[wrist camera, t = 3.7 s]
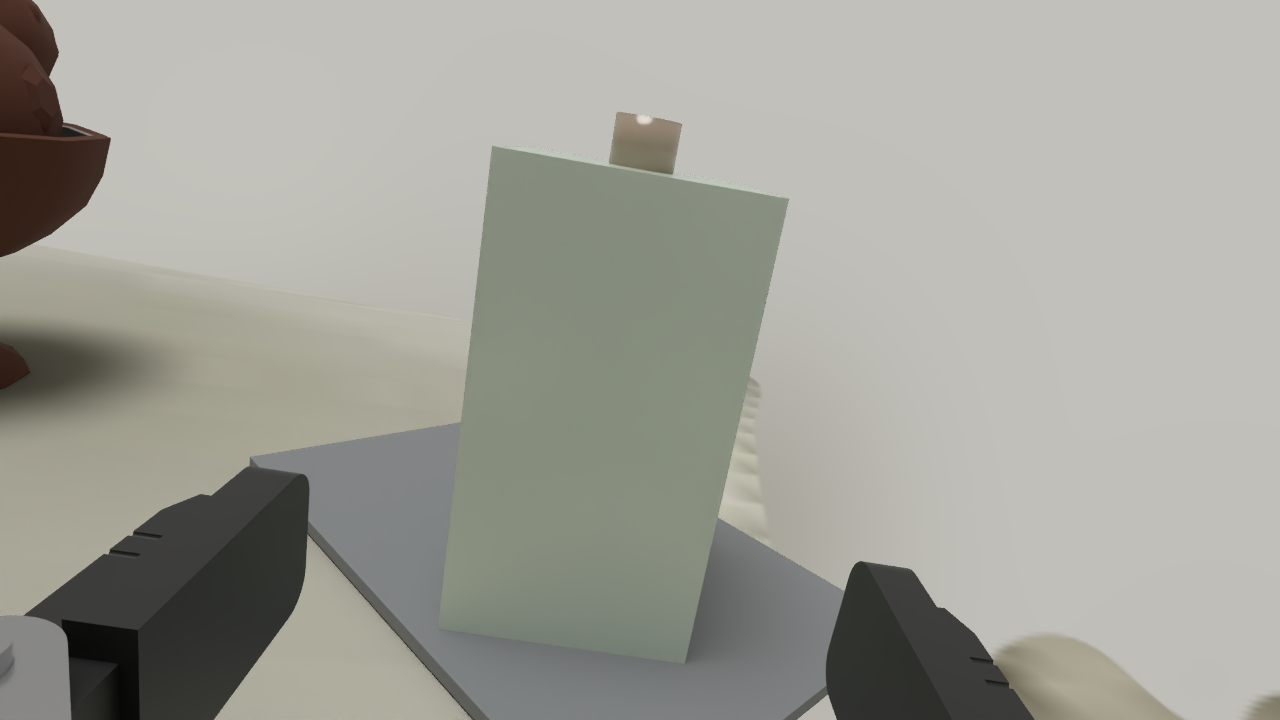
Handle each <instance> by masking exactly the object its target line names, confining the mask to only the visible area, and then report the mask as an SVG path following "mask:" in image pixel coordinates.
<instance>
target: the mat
mask: <svg viewBox="0 0 1280 720" xmlns="http://www.w3.org/2000/svg"><path fill="white" fill-rule="evenodd" d="M460 427H461V423H455V424H448V425H442V426H436V427H430V428H424V429H418V430H412V431H406V432H400V433H394V434H388V435H382V436H375V437H369V438H363V439H357V440H351V441H345V442H339V443H333V444H327V445H321V446H315V447H309V448H302V449H296V450H290V451H284V452H278V453H272V454H266V455H260V456H254V457H250V466H254V467H261V468H267V469H274V470H280V471H287V472H293V473H300V474H304V475H306V477H307V478H308V481H309V488H310V495H309V513H308V532H307V533H308V534H309V535H310V536H311V537H312V538H313V539H314V541H315V542H316V543H317V544H318V545H319V546H320V547H321V548H322V550H323V551H324V552H325V553H326V554H327V555H328V556H329V557H330V559H331V560H332V561H333V562H334V563H335V564H336V565H337V566H338V568H339V569H340V570H341V571H342V572H343V573H344V574H345V575H346V577H347V578H348V579H349V580H350V581H351V582H352V583H353V584H354V585H355V587H356V588H357V589H358V590H359V591H360V592H361V593H362V594H363V596H364V597H365V598H366V599H367V600H368V601H369V602H370V603H371V605H372V606H373V607H374V608H375V609H376V610H377V611H378V612H379V614H380V615H381V616H382V617H383V618H384V619H385V620H386V621H387V623H388V624H389V625H390V626H391V627H392V628H393V629H394V630H395V632H396V633H397V634H398V635H399V636H400V637H401V638H402V639H403V641H404V642H405V643H406V644H407V645H408V646H409V647H410V648H411V649H412V651H413V652H414V653H415V654H416V655H417V656H418V657H419V658H420V660H421V661H422V662H423V663H424V664H425V665H426V666H427V667H428V669H429V670H430V671H431V672H432V673H433V674H434V675H435V676H436V678H437V679H438V680H439V681H440V682H441V683H442V684H443V685H444V687H445V688H446V689H447V690H448V691H449V692H450V693H451V694H452V696H453V697H454V698H455V699H456V700H457V701H458V702H459V703H460V705H461V706H462V707H463V708H464V709H465V710H466V711H467V712H468V713H469V715H470V716H471V717H472V718H473V719H474V720H797V719H798V718H799V717H800V716H802V715H803V714H804V713H805V712H806V711H808V710H809V709H810V708H812V707H813V706H814V705H815V704H816V703H818V702H819V701H820V700H821V699H823V698H824V697H825V696H826V695H828V691H827V685H826V658H827V652H828V648H829V644H830V641H831V637H832V634H833V630H834V627H835V624H836V620H837V617H838V613H839V610H840V606H841V603H842V599H843V596H844V592H845V591H843V590H841V589H840V588H838V587H836V586H834V585H832V584H831V583H829V582H827V581H826V580H824V579H822V578H821V577H819V576H817V575H815V574H814V573H812V572H810V571H808V570H807V569H805V568H803V567H802V566H800V565H798V564H796V563H795V562H793V561H791V560H790V559H788V558H786V557H785V556H783V555H781V554H779V553H778V552H776V551H774V550H772V549H771V548H769V547H767V546H766V545H764V544H762V543H760V542H759V541H757V540H755V539H754V538H752V537H750V536H748V535H747V534H745V533H743V532H742V531H740V530H738V529H736V528H735V527H733V526H731V525H730V524H728V523H726V522H724V521H723V520H721V519H719V518H717V523H716V527H715V531H714V536H713V540H712V545H711V549H710V554H709V558H708V563H707V567H706V572H705V576H704V581H703V585H702V589H701V594H700V598H699V603H698V607H697V612H696V616H695V621H694V625H693V630H692V634H691V639H690V643H689V647H688V652H687V656H686V661H685V664H681V663H674V662H667V661H660V660H653V659H646V658H639V657H632V656H624V655H617V654H610V653H603V652H596V651H589V650H582V649H575V648H568V647H561V646H554V645H547V644H540V643H533V642H526V641H519V640H512V639H505V638H498V637H491V636H483V635H476V634H469V633H462V632H455V631H448V630H441V629H438V623H439V614H440V605H441V596H442V587H443V578H444V569H445V561H446V552H447V543H448V534H449V525H450V516H451V507H452V498H453V489H454V481H455V472H456V463H457V454H458V445H459V436H460Z"/></svg>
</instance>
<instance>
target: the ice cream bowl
mask: <svg viewBox="0 0 1280 720" xmlns="http://www.w3.org/2000/svg"><path fill="white" fill-rule="evenodd" d="M58 53H59V51H58V48H57V45H56V42H55V38H54V33H53V30H52V28H51V26H50V25H49V23H48V22H47V20H46V18H45V17H44V15H43V14H42V12H41V11H40V9H39V7H38V6H37V5H36V4H35V3H34V2H33V1H32V0H0V257H3V256H6V255H9V254H12V253H15V252H17V251H19V250H21V249H23V248H25V247H27V246H29V245H31V244H33V243H35V242H36V241H38V240H40V239H42V238H44V237H46V236H48V235H50V234H52V233H53V232H54V231H55V230H57V229H58V228H59V227H60V226H62V225H63V224H64V223H65V222H67V221H68V220H69V219H70V218H72V217H73V216H74V215H75V214H76V213H78V212H79V211H80V210H82V209H83V208H84V207H85V206H86V205H87V203H88V202H89V200H90V198H91V196H92V194H93V193H94V191H95V189H96V187H97V185H98V184H99V182H100V180H101V178H102V176H103V173H104V168H105V164H106V159H107V154H108V150H109V145H110V140H111V138H109V137H107V136H105V135H102V134H99V133H97V132H94V131H91V130H89V129H86V128H83V127H80V126H78V125H74V124H68V123H63V117H62V113H61V109H60V105H59V101H58V97H57V93H56V89H55V86H54V85H53V83H52V81H51V80H50V78H49V76H50V73H51V71H52V69H53V66H54V64H55V62H56V59H57V57H58ZM28 373H30V371H29V369H28V367H27V365H26V363H25V361H24V359H23V358H22V357H21V356H20V354H19V353H18V352H17V351H16V350H15V349H14V348H13V347H11V346H9V345H6V344H4V343H1V342H0V388H4V387H7V386H9V385H10V384H12V383H13V382H15V381H17V380H18V379H20V378H21V377H23V376H25V375H26V374H28Z"/></svg>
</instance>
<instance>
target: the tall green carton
mask: <svg viewBox="0 0 1280 720" xmlns="http://www.w3.org/2000/svg"><path fill="white" fill-rule="evenodd" d="M681 126H682V124H680V123H677V122H673V121H668V120H664V119H659V118H653V117H648V116H642V115H636V114H630V113H622V112H617V114H616V121H615V127H614V134H613V140H612V146H611V153H610V159H609V160H604V159H598V158H593V157H587V156H581V155H576V154H570V153H565V152H559V151H553V150H548V149H542V148H537V147H518V146H492V152H491V161H490V170H489V179H488V188H487V196H486V206H485V214H484V223H483V232H482V241H481V250H480V259H479V267H478V276H477V285H476V294H475V303H474V312H473V321H472V330H471V338H470V347H469V356H468V365H467V374H466V383H465V392H464V401H463V410H462V418H461V427H460V436H459V445H458V454H457V463H456V472H455V481H454V489H453V498H452V507H451V516H450V525H449V534H448V543H447V552H446V561H445V569H444V578H443V587H442V596H441V605H440V614H439V623H438V629H441V630H448V631H455V632H462V633H469V634H476V635H483V636H491V637H498V638H505V639H512V640H519V641H526V642H533V643H540V644H547V645H554V646H561V647H568V648H575V649H582V650H589V651H596V652H603V653H610V654H617V655H624V656H632V657H639V658H646V659H653V660H660V661H667V662H674V663H681V664H685V661H686V656H687V652H688V647H689V643H690V639H691V634H692V630H693V625H694V621H695V616H696V612H697V607H698V603H699V598H700V594H701V589H702V585H703V581H704V576H705V572H706V567H707V563H708V558H709V554H710V549H711V545H712V540H713V536H714V531H715V527H716V523H717V518H718V514H719V509H720V505H721V500H722V496H723V491H724V487H725V482H726V478H727V473H728V469H729V465H730V460H731V456H732V451H733V447H734V442H735V438H736V433H737V429H738V424H739V420H740V415H741V411H742V407H743V402H744V398H745V393H746V389H747V384H748V380H749V375H750V371H751V366H752V362H753V357H754V353H755V348H756V344H757V340H758V335H759V331H760V326H761V322H762V317H763V313H764V308H765V304H766V299H767V295H768V290H769V286H770V281H771V277H772V273H773V268H774V263H775V259H776V255H777V250H778V246H779V241H780V237H781V232H782V228H783V223H784V219H785V215H786V210H787V206H788V201H789V199H788V198H784V197H782V196H778V195H775V194H772V193H769V192H766V191H763V190H760V189H757V188H754V187H751V186H747V185H743V184H738V183H732V182H727V181H721V180H715V179H710V178H704V177H698V176H693V175H688V174H682V173H677V172H673V170H674V165H675V159H676V154H677V149H678V143H679V138H680V132H681Z"/></svg>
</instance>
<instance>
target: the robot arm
mask: <svg viewBox="0 0 1280 720" xmlns="http://www.w3.org/2000/svg"><path fill="white" fill-rule="evenodd" d="M309 495H310V488H309V481H308V478H307V477H306V475H304V474H300V473H293V472H287V471H280V470H274V469H267V468H261V467H254V466H249V467H246V468H245V469H243V470H242V471H241V472H240V473H239V474H237V475H236V476H235V477H234V478H233V479H231V480H230V481H229V482H228V483H226V484H225V485H224V486H223V487H222V488H220V489H219V490H218V491H217V492H215V493H214V494H213V495H212V496H209V495H202V494H200V495H197V496H195V497H192V498H190V499H187V500H185V501H182V502H180V503H177V504H175V505H172V506H170V507H168V508H165V509H163V510H161V511H159V512H158V513H157V514H156V515H154V516H153V517H152V518H150V519H149V520H148V521H146V522H145V523H144V524H142V525H141V526H140V527H139V528H137V529H136V530H135V531H134V533H133V535H132V536H127V537H125V538H124V539H123V540H122V541H120V542H119V543H118V544H116V545H115V546H114V547H112V548H111V549H110V552H109V554H108V555H107V554H103V555H102V556H101V557H99V558H98V559H97V560H95V561H94V562H93V563H92V564H90V565H89V566H88V567H86V568H85V569H84V570H82V571H81V572H80V573H78V574H77V575H76V576H75V577H73V578H72V579H71V580H69V581H68V582H67V583H65V584H64V585H63V586H61V587H60V588H59V589H58V590H56V591H55V592H54V593H52V594H51V595H50V596H48V597H47V598H46V599H44V600H43V601H42V602H41V603H39V604H38V605H37V606H35V607H34V608H33V609H31V610H30V611H29V612H27V613H26V614H25V615H24V616H0V720H214V719H215V717H216V716H217V714H218V713H219V712H220V710H221V709H222V708H223V706H224V705H225V704H226V702H227V701H228V700H229V698H230V697H231V695H232V694H233V693H234V691H235V690H236V689H237V687H238V686H239V685H240V683H241V682H242V681H243V679H244V678H245V676H246V675H247V674H248V672H249V671H250V670H251V668H252V667H253V666H254V664H255V663H256V662H257V660H258V659H259V657H260V656H261V655H262V653H263V652H264V651H265V649H266V648H267V647H268V645H269V644H270V643H271V641H272V640H273V638H274V637H275V636H276V634H277V633H278V632H279V630H280V629H281V628H282V626H283V625H284V624H285V622H286V621H287V620H288V618H289V617H290V615H291V614H292V612H293V610H294V608H295V606H296V604H297V601H298V599H299V596H300V593H301V590H302V586H303V582H304V577H305V568H306V550H307V532H308V513H309ZM826 685H827V691H828V695H829V698H830V701H831V704H832V707H833V710H834V713H835V715H836V718H837V720H1034V718H1033V717H1032V715H1031V714H1030V712H1029V711H1028V710H1027V708H1026V707H1025V705H1024V704H1023V702H1022V701H1021V700H1020V698H1019V697H1018V695H1017V694H1016V692H1015V691H1014V689H1009V682H1008V681H1007V679H1006V678H1005V677H1004V675H1003V674H1002V672H1001V671H1000V669H999V668H998V666H995V665H993V659H992V658H991V656H990V655H989V654H988V652H987V651H986V649H985V648H984V646H983V645H982V643H981V642H980V641H979V639H978V638H977V636H976V635H975V633H973V632H972V631H971V630H970V629H969V628H967V627H966V626H965V625H964V624H963V623H961V622H960V621H959V620H958V619H957V618H956V617H954V616H953V615H952V614H951V613H950V612H948V611H947V610H946V609H945V608H938V607H936V605H935V603H934V602H933V601H932V599H931V597H930V596H929V594H928V593H927V591H926V590H925V588H924V587H923V585H922V584H921V582H920V581H919V579H918V577H917V576H916V575H915V573H914V572H913V571H912V570H910V569H908V568H901V567H895V566H888V565H881V564H875V563H869V562H862V561H860V562H858V563H856V564H855V565H854V567H853V568H852V571H851V573H850V576H849V579H848V582H847V586H846V589H845V592H844V596H843V599H842V603H841V606H840V610H839V613H838V617H837V620H836V624H835V627H834V630H833V634H832V637H831V641H830V644H829V648H828V652H827V658H826Z"/></svg>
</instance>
